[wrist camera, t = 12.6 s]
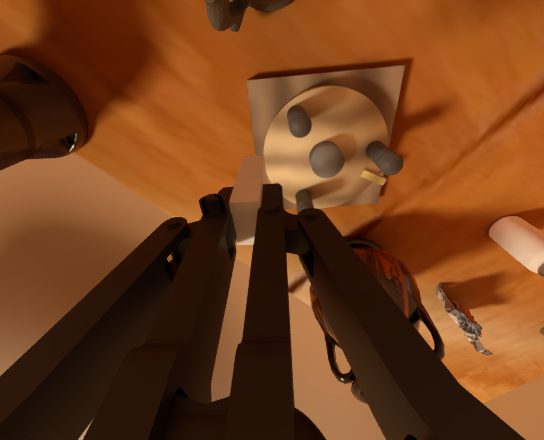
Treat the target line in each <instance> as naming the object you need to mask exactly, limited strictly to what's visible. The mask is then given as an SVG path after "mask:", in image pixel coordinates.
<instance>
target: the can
mask: <svg viewBox="0 0 544 440" xmlns="http://www.w3.org/2000/svg"><path fill="white" fill-rule="evenodd" d="M489 236H490V237H491V238H492V239H493V240H494V241H495V242H497V243H498V244H499V245H500V246H501V247H502V248H504V249H505V250H506V251H507V252H508V253H510V254H511V255H512V256H513V257H514V258H516V259H517V260H518V261H519V262H520V263H522V264H523V265H524V266H525V267H526V268H528V269H529V270H531V271H532V272H535V273H538V274H539V275H540V276H543V277H544V233H543V232H542V231H540V230H539V229H537V228H536V227H534V226H532V225H531V224H529V223H528V222H526V221H525V220H523V219H522V218H520V217H518V216H507V217H503V218H501V219H499V220H497V221H496V222H495V223H493V224H492V225H491V227H490V229H489Z"/></svg>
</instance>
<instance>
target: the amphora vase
mask: <svg viewBox="0 0 544 440" xmlns="http://www.w3.org/2000/svg"><path fill="white" fill-rule="evenodd" d="M345 240H346V241H347V242H348V243H349V245H350V246H351V247H352V249H353V250H354V251H355V252H356V254H357V255H358V256H359V257H360V259H361V260H362V261H363V262H364V264H365V265H366V266H367V268H368V269H369V270H370V271H371V273H372V274H373V275H374V276H375V278H376V279H377V280H378V281H379V283H380V284H381V285H382V287H383V288H384V289H385V290H386V292H387V293H388V294H389V295H390V297H391V298H392V299H393V300H394V302H395V303H396V304H397V306H398V307H399V308H400V309H401V311H402V312H403V313H404V314H405V316H406V317H407V318H408V319H409V321H410V322H411V323H412V325H413V326H414V327H415V328H416V330H417V331H419V327H420V320H421V321H422V322H424V324H425V325H426V327H427V328H428V330H429V331H430V333H431V335H432V337H433V340H434V345H435V349H434V350H433V351H434V352H435V354H436V355H437V356H438V357H439V359H440V360H442V359H443V358H444V343H443V341H442V339H441V337H440V334H439V332H438V330H437V329H436V327H435V325H434V323H433V322H432V320H431V318H430V316H429V315H428V313H427V311H426V309H425V308H424V306H423V304H422V303H421V298H420V292H419V289H418V286H417V283H416V281H415V279H414V277H413V276H412V275H411V273H410V272H409V270H408V269H407V268H406V266H405V265H404V263H403V262H401V261H400V260H398V259H397V258H395V257H394V256H392V255H391V254H390V253H387V252H384V251H383V250H382V249H381V247H380V246H379V245H378V244H376V243H375V242H373V241H371V240H368V239H365V238H346V239H345ZM310 298H311V307H312V309H313V312H314V315H315V318H316V319H317V321H318V323H319V325H320V326H321V328H322V330H323V332H324V335H325V341H326V347H327V354H328V360H329V363H330V367H331V370H332V372H333V374H334V375H335V376H336V378H337V379H338V381H340V382H342V383H344V384H348V383H352V382H353V383H352V387H351V391H352V393H353V395H354V396H355V398H357V399H358V400H360V401H361V402H363V403H366V404H368V403H367V401H366V399H365V397H364V395H363V392H362V390H361V388H360V386H359V384H358V382H357V380H356V378H355V376H354V373H353V371H352V369H351V370H350V372H349V373H347V374H342V373H341V372H340V370H339V367H338V365H337V362H336V356H335V345H337V346H338V347H339V348H341V346H340V344H339V342H338V340H337V338H336V335H335V333H334V331H333V329H332V327H331V325H330V323H329V321H328V319H327V316H326V314H325V312H324V310H323V308H322V306H321V304H320V302H319V300H318V297H317V295H316V293H315V291H314V289H313V287H312V285H311V286H310ZM341 349H342V348H341Z"/></svg>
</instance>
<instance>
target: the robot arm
mask: <svg viewBox="0 0 544 440" xmlns="http://www.w3.org/2000/svg"><path fill="white" fill-rule="evenodd" d="M87 133H88V125H87V119H86V116H85V113H84V110H83V108H82V106H81V104H80V102H79V100H78V99H77V97H76V96H75V94H74V93H73V91H72V90H71V89H70V88H69V87H68V86H67V84H66V83H65V82H64V81H63V80H62V79H61V78H60V77H58V76H57V75H56V74H55V73H53V72H52V71H51V70H49V69H48V68H46V67H45V66H43V65H41V64H40V63H38V62H36V61H33V60H31V59H28V58H25V57H21V56H15V55H0V170H3V169H5V168H7V167H9V166H12V165H14V164H17V163H19V162H21V161H24V160H26V159H47V158H59V157H64V156H67V155H69V154H71V153H73V152H75V151H77V150H79V149H80V148H81V147H82V146H83V144H84V143H85V141H86V138H87ZM199 204H200V207H201V210H202V214H203V215H202V218H201V220H199V221H196V222H192V223H187V220H186V219H185V218H182V217H175V218H171V219H169V220H167V221H165V222H163V223H162V224H161V225H160V226H159V227H158V228H157V229H156V230H155V231H154V232H153V233H152V234H150V235H149V236H148V237H147V238H146V239H145V240H144V241H143V242H142V243H141V244H140V245H139V246H138V247H137V248H136V249H135V250H134V251H132V252H131V254H129V255H128V256H127V257H126V258H125V259H124V260H123V261H122V262H121V263H120V264H119V265H118V266H117V267H116V268H115V269H113V271H111V272H110V273H109V274H108V275H107V276H106V277H105V278H104V279H103V280H102V281H101V282H100V283H99V284H98V285H96V286H95V287H94V288H93V289H92V290H91V291H90V292H89V293H88V294H87V295H86V296H85V297H84V298H83V299H82V300H81V301H80V302H79V303H77V304H76V305H75V306H74V307H73V308H72V309H71V310H70V311H69V312H68V313H67V314H66V315H65V316H64V317H63V318H62V319H61V320H59V321H58V322H57V323H56V324H55V325H54V326H53V327H52V328H51V329H50V330H49V331H48V332H47V333H46V334H45V335H44V336H42V338H40V339H39V340H38V341H37V342H36V343H35V344H34V345H33V346H32V347H31V348H30V349H29V350H28V351H27V352H26V353H24V354H23V355H22V356H21V358H19V359H18V360H17V361H16V362H15V363H14V364H13V365H12V366H11V367H10V368H9V369H8V370H6V371H5V372H4V373H3V374H2V375H1V376H0V440H78V439H79V437H80V436H81V435H82V433H83V432H84V431H85V429H86V428H87V426H88V425H89V424H90V422H91V421H92V420H93V421H92V423H91V425H90V427H89V429H88V431H87V433H86V435H85V437H84V439H83V440H326V439H325V437H324V436H323V434H322V433H321V432H320V430H319V429H318V428H317V427H316V425H315V424H314V423H313V422H312V421H311V420H310V419H309V418H308V417H307V416H306V415H305V414H304V413H302V412H301V411H299V410H298V409H296V408H295V407H294V392H293V391H294V390H293V372H292V354H291V334H290V315H289V296H288V277H287V257H286V252H287V253H292V254H297V255H298V256H299V259H300V262H301V264H302V266H303V268H304V270H305V272H306V274H307V276H308V278H309V281H310V283H311V285H312V287H313V289H314V291H315V293H316V295H317V297H318V300H319V302H320V304H321V306H322V308H323V310H324V312H325V314H326V316H327V319H328V321H329V323H330V325H331V327H332V329H333V331H334V333H335V335H336V338H337V340H338V342H339V344H340V346H341V348H342V350H343V352H344V354H345V356H346V359H347V361H348V363H349V365H350V367H351V369H352V371H353V373H354V376H355V378H356V380H357V382H358V384H359V386H360V388H361V390H362V392H363V395H364V397H365V399H366V401H367V403H368V405H369V407H370V409H371V411H372V413H373V416H374V417H375V419H376V421H377V423H378V425H379V427H380V429H381V431H382V433H383V435H384V437H385V438H386V440H525V439H524V438H523V437H522V436H520V435H519V434H518V433H517V432H516V431H514V430H513V429H512V428H511V427H510V426H508V425H507V424H506V423H505V422H504V421H503V420H501V419H500V418H499V417H498V416H497V415H496V414H494V413H493V412H492V411H491V410H490V409H488V408H487V407H486V406H485V405H484V404H482V403H481V402H480V401H479V400H478V399H477V398H475V397H474V396H473V395H472V394H471V393H469V392H468V391H467V390H466V389H465V388H463V387H462V386H461V385H460V384H459V383H458V382H457V380H456V379H455V378H454V376H453V375H452V374H451V373H450V371H449V370H448V369H447V368H446V366H445V365H444V364H443V363H442V361H441V360H440V359H439V357H438V356H437V355H436V354H435V352H434V351H433V350H432V349H431V347H430V346H429V345H428V344H427V342H426V341H425V340H424V338H423V337H422V336H421V335H420V333H419V332H418V331H417V330H416V328H415V327H414V326H413V325H412V323H411V322H410V321H409V319H408V318H407V317H406V316H405V314H404V313H403V312H402V311H401V309H400V308H399V307H398V306H397V304H396V303H395V302H394V300H393V299H392V298H391V297H390V295H389V294H388V293H387V292H386V290H385V289H384V288H383V287H382V285H381V284H380V283H379V281H378V280H377V279H376V278H375V276H374V275H373V274H372V273H371V271H370V270H369V269H368V268H367V266H366V265H365V264H364V262H363V261H362V260H361V259H360V257H359V256H358V255H357V254H356V252H355V251H354V250H353V249H352V247H351V246H350V245H349V243H348V242H347V241H346V240H345V238H344V237H343V236H342V235H341V233H340V232H339V231H338V230H337V228H336V227H335V226H334V224H333V223H332V222H331V221H330V219H329V218H328V217H327V216H326V214H325V213H324V212H323V211H322V210H319V209H317V208H306V209H303V210H301V211H300V212H299V213H298V214H297V215H294V214H290V213H288V212H286V211H285V210H284V206H283V191H282V186H281V185H280V184H279V183H273V184H267V178H266V169H265V159H264V155H260V156H247V157H243V160H242V163H241V166H240V169H239V172H238V175H237V179H236V182H235V185H234V187H225V188H223V189H221V190H220V191H219V192H218V194H209V195H206V196H204V197H202V198H201V199H200V200H199ZM236 239H237V244H238V245H250V244H254V245H253V254H252V262H251V271H250V279H249V288H248V296H247V304H246V313H245V322H244V329H243V338H242V341H241V343H240V344H238V347H237V350H236V355H235V362H234V370H233V377H232V385H231V392H230V396H229V397H226V398H223V399H220V400H217V401H214V402H211V380H212V375H213V370H214V365H215V359H216V354H217V349H218V344H219V339H220V334H221V329H222V323H223V318H224V313H225V308H226V303H227V298H228V292H229V288H230V282H231V277H232V272H233V267H234V261H235V257H236V252H237V251H236V245H235V242H236ZM170 254H171V257H172V260H171V261H170V262H168V261H167V257H168V256H169V255H170ZM93 418H94V419H93Z"/></svg>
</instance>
